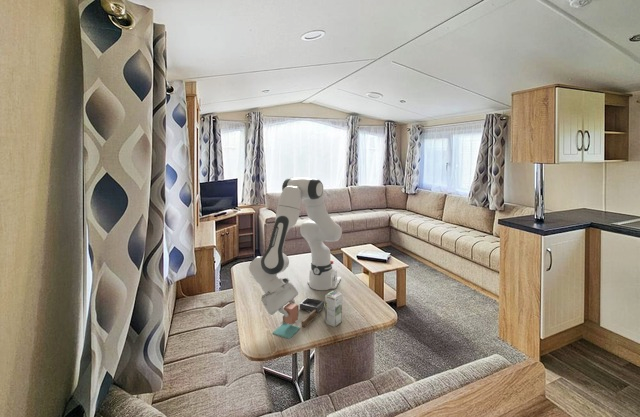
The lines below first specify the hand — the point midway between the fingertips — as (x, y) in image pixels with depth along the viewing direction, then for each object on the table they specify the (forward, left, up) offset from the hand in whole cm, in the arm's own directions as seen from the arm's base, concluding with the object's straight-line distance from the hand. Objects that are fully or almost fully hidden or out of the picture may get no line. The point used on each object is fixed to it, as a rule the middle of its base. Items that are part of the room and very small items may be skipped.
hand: (292, 312), depth 140 cm
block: (0, -1, -4) cm, 4 cm away
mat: (+4, -1, -7) cm, 8 cm away
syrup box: (-12, +15, -7) cm, 21 cm away
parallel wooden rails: (-8, -1, -7) cm, 10 cm away
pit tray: (-20, -1, -7) cm, 21 cm away
